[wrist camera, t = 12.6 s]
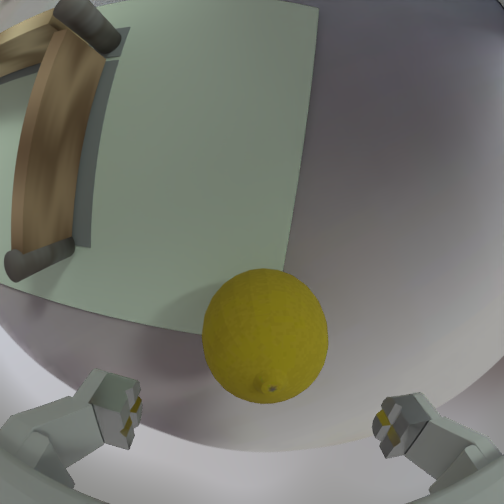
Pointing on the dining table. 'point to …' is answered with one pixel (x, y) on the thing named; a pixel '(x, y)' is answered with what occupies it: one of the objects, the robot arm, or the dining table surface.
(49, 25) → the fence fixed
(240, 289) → the lemon
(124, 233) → the mat
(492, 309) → the dining table surface
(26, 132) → the fence panel
